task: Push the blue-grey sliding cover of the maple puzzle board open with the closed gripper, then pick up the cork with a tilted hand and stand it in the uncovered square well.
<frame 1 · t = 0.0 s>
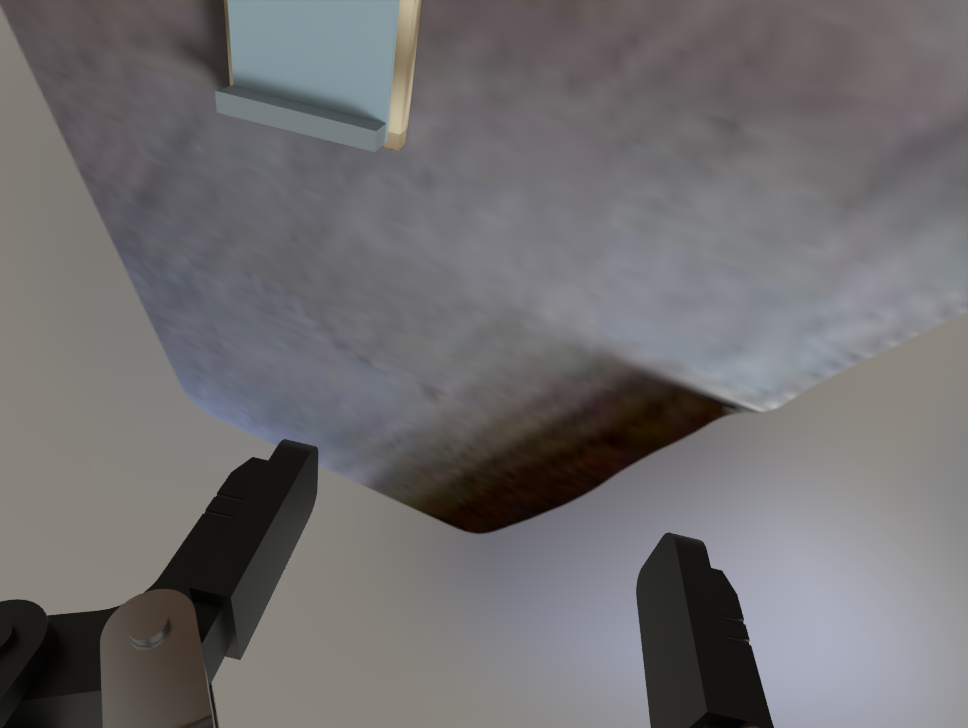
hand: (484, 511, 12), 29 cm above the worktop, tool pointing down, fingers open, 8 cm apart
cover: (305, 34, 30), point 4 cm above the worktop, slide at 0.0 cm
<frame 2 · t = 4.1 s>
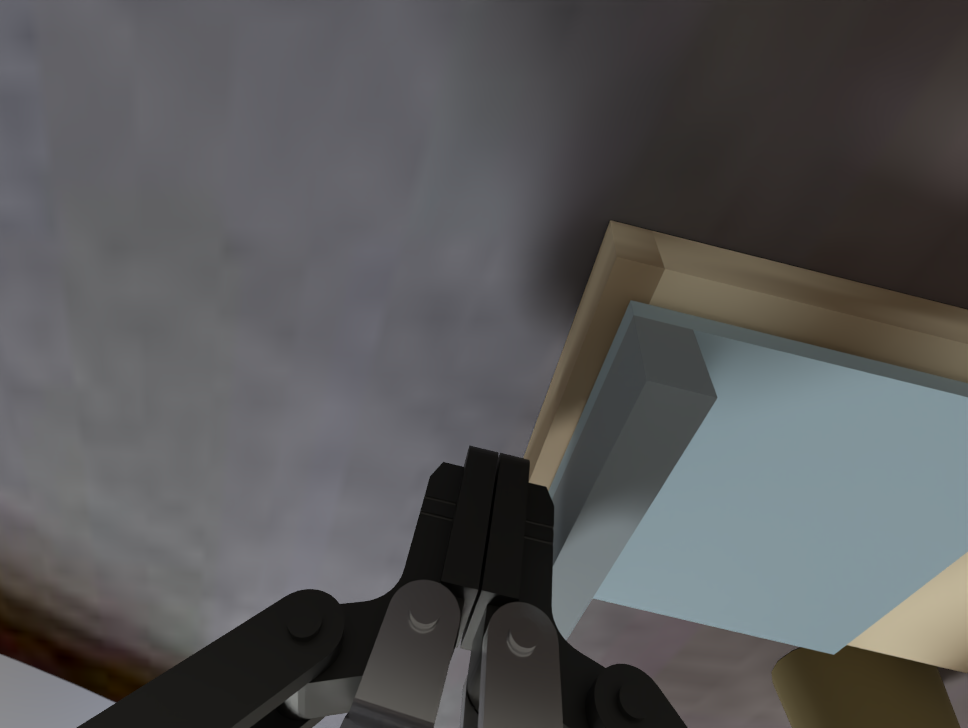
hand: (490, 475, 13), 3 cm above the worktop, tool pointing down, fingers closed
board: (938, 492, 16), on the worktop
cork: (848, 669, 22), on the worktop
cover: (764, 548, 13), point 4 cm above the worktop, slide at 0.0 cm, touching gripper
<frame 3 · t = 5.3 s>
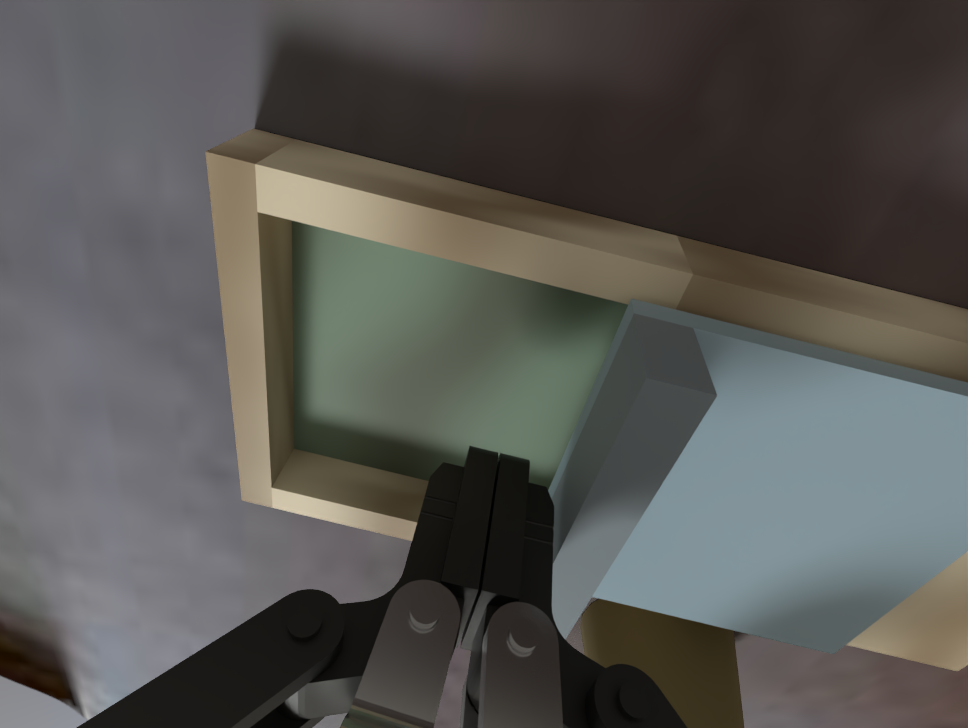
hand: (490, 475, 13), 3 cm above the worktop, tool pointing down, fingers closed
board: (664, 425, 16), on the worktop
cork: (654, 623, 22), on the worktop
cover: (764, 547, 13), point 4 cm above the worktop, slide at 8.5 cm, touching gripper
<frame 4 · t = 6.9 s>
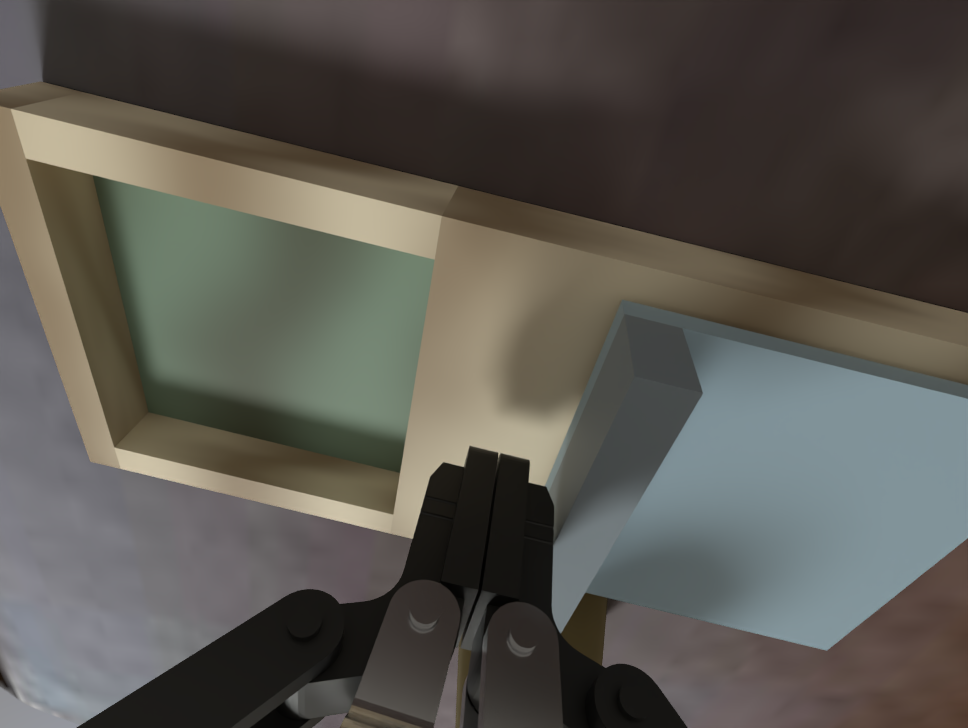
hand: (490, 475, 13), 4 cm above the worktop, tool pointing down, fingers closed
board: (491, 383, 16), on the worktop
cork: (533, 593, 22), on the worktop
cover: (755, 543, 13), point 4 cm above the worktop, slide at 13.6 cm, touching gripper
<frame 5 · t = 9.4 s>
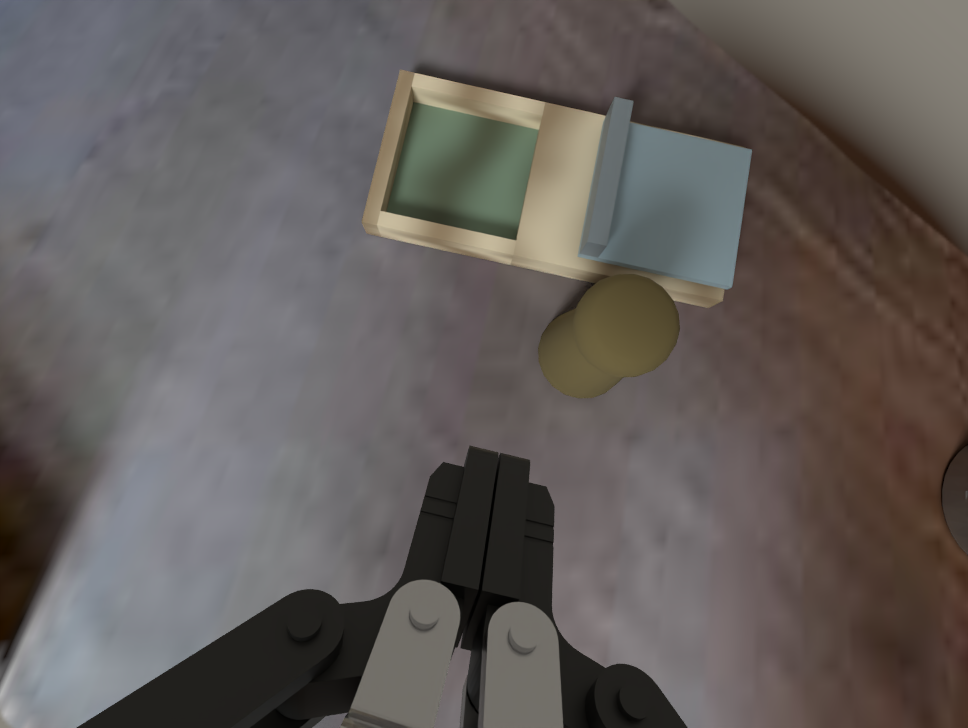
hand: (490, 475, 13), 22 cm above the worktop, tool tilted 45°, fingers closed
board: (553, 196, 37), on the worktop
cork: (581, 354, 36), on the worktop
cover: (672, 195, 34), point 4 cm above the worktop, slide at 13.6 cm
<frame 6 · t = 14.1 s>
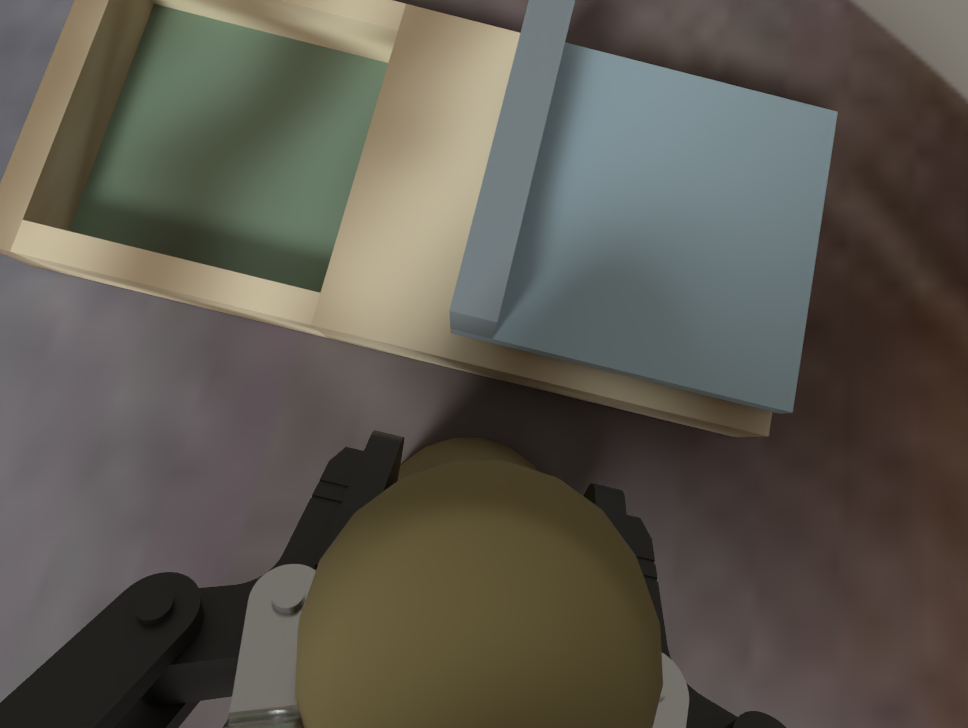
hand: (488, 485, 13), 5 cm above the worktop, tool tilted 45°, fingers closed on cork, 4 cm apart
board: (427, 200, 19), on the worktop
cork: (467, 530, 17), on the worktop, touching gripper
cover: (663, 203, 15), point 4 cm above the worktop, slide at 13.6 cm
when the fingers open (6 cm above the worktop, at t = 19.3 s): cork drops 2 cm, resting on board.
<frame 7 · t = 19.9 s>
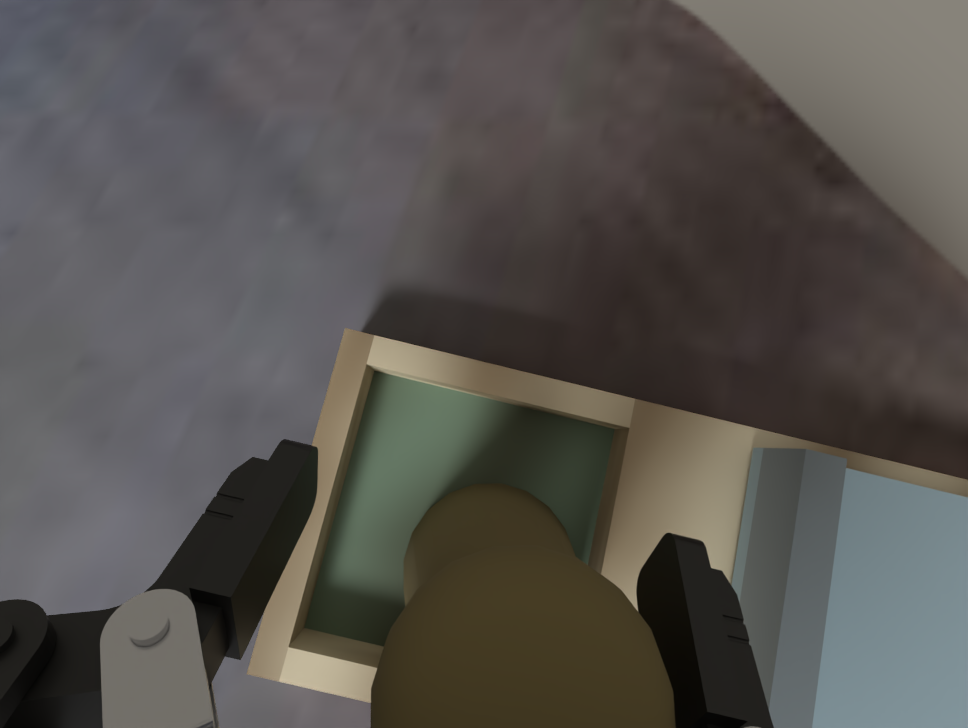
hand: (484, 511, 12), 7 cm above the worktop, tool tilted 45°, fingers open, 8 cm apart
board: (641, 565, 19), on the worktop
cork: (489, 570, 19), resting on board
cover: (917, 649, 16), point 4 cm above the worktop, slide at 13.6 cm
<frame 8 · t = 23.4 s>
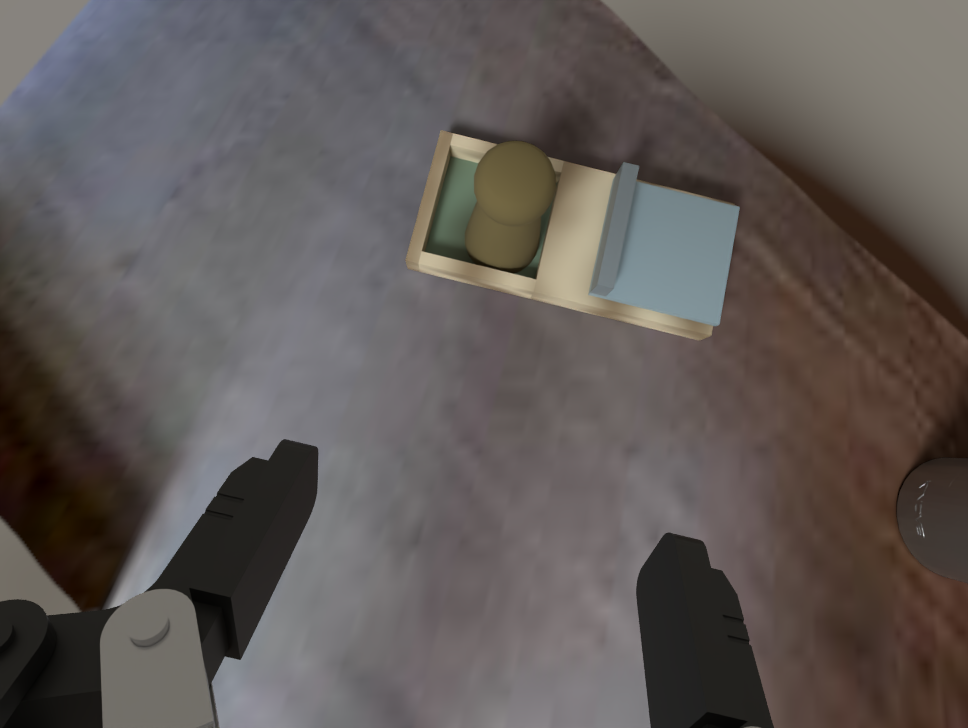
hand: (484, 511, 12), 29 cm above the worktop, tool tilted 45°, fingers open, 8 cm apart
board: (568, 240, 43), on the worktop
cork: (501, 240, 43), resting on board
cover: (670, 245, 40), point 4 cm above the worktop, slide at 13.6 cm
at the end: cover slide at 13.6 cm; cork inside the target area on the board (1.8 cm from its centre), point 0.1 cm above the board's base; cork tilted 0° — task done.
